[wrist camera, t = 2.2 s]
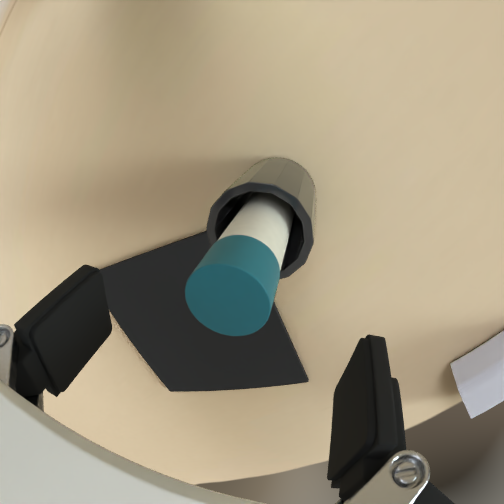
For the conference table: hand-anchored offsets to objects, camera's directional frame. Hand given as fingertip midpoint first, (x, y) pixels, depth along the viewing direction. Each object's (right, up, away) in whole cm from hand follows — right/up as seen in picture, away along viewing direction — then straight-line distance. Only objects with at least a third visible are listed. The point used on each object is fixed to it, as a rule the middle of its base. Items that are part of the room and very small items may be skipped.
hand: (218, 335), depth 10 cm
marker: (+3, +7, +13) cm, 15 cm away
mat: (-5, -6, +22) cm, 23 cm away
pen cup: (+3, +7, +13) cm, 16 cm away
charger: (+32, -9, +15) cm, 36 cm away
